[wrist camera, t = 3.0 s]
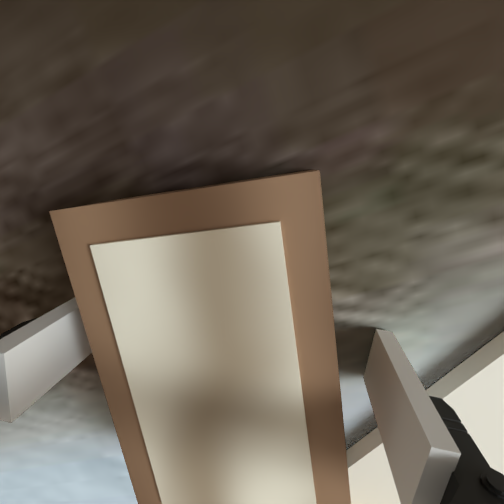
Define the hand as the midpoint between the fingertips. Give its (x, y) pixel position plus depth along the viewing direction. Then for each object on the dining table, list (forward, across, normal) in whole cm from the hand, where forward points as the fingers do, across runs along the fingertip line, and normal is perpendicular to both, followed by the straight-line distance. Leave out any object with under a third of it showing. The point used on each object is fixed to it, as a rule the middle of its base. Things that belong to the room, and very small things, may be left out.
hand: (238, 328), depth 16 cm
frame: (0, 0, 0) cm, 1 cm away
